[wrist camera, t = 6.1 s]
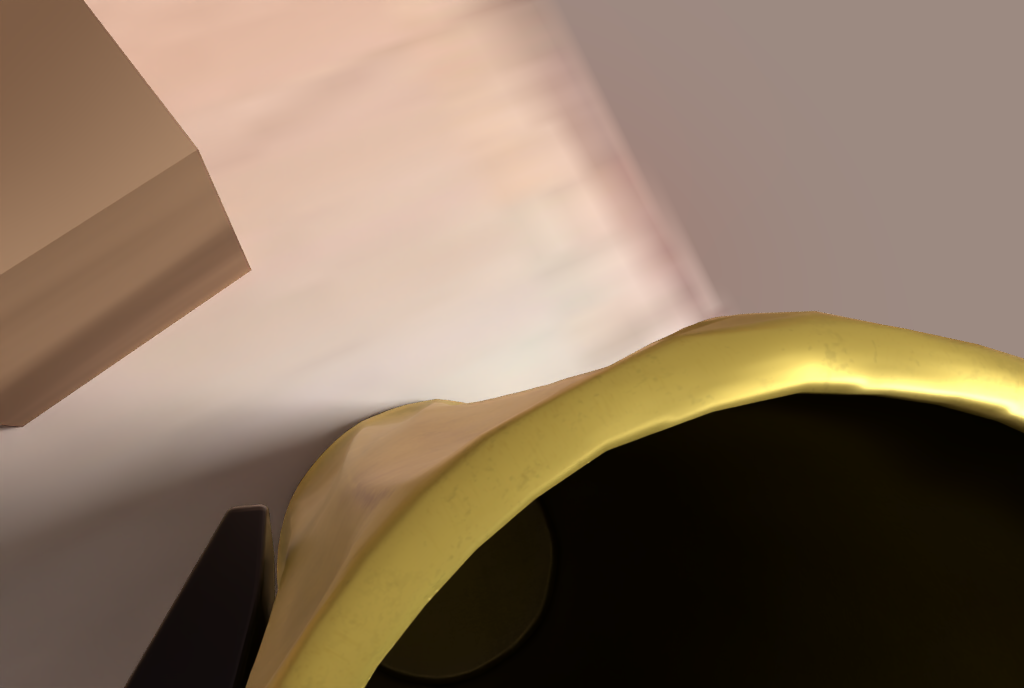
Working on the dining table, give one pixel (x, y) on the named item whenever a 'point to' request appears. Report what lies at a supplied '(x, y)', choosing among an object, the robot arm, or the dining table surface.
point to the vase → (675, 524)
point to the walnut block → (92, 208)
